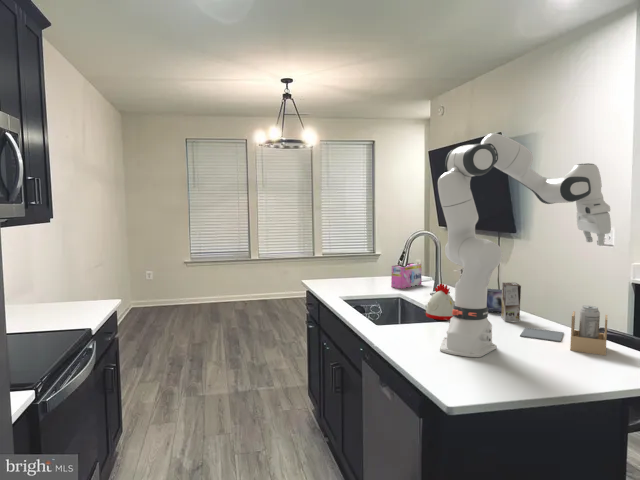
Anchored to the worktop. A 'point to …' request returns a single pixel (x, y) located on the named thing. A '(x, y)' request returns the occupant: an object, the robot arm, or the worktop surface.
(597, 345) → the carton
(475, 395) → the worktop surface
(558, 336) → the mat
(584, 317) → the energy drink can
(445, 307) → the kitchen timer
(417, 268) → the gum box
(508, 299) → the coffee box
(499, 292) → the small box
